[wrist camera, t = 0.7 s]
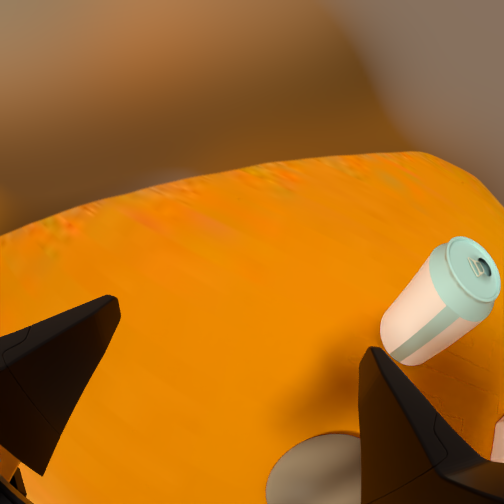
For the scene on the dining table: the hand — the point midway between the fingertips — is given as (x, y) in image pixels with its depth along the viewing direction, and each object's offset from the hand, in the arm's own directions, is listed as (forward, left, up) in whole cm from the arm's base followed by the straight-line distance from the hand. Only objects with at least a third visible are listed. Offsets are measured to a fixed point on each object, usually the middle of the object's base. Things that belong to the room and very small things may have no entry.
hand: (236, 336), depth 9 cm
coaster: (-11, -3, -15) cm, 19 cm away
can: (-2, -17, -15) cm, 23 cm away
